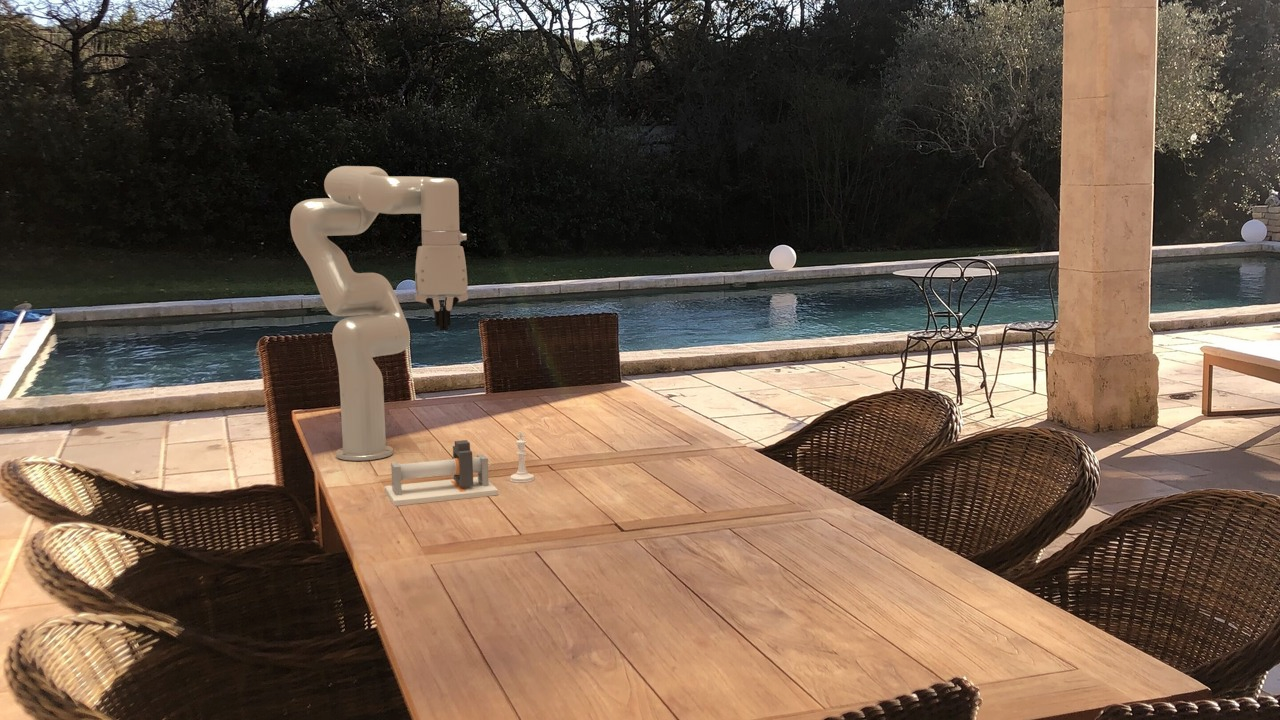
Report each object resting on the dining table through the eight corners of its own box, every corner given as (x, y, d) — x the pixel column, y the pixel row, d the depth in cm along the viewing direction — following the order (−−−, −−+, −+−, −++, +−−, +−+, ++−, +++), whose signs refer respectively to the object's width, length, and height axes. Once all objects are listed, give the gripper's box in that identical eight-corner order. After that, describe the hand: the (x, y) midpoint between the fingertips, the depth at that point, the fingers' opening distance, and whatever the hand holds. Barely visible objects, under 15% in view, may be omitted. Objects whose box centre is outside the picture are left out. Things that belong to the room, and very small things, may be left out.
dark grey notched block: (461, 487, 218) (459, 446, 217) (454, 479, 224) (452, 439, 223) (473, 486, 219) (471, 444, 218) (465, 478, 225) (464, 438, 224)
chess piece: (530, 483, 227) (528, 434, 226) (506, 482, 228) (505, 433, 227) (537, 477, 232) (536, 429, 231) (514, 476, 233) (513, 429, 232)
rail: (394, 506, 211) (392, 471, 210) (384, 491, 222) (383, 458, 221) (498, 494, 218) (497, 461, 217) (484, 480, 229) (482, 449, 228)
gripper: (473, 238, 232) (475, 326, 235) (400, 239, 228) (403, 328, 230) (481, 240, 225) (482, 330, 228) (405, 241, 221) (408, 333, 223)
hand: (442, 329), depth 229 cm, fingers closed
